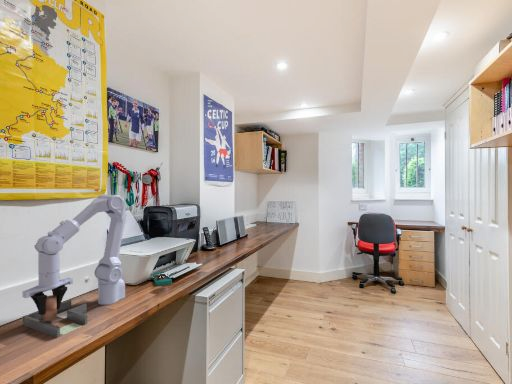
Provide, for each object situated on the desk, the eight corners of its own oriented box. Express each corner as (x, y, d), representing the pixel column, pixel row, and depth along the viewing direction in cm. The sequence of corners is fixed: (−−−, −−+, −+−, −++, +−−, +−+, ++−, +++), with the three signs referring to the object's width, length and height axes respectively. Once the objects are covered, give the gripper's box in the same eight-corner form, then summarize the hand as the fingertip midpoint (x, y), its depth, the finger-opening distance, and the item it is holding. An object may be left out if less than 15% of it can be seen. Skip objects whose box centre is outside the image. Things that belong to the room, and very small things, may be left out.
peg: (52, 314, 96) (52, 294, 96) (59, 316, 94) (59, 296, 94) (39, 319, 92) (39, 298, 92) (46, 321, 91) (46, 300, 91)
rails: (70, 307, 105) (70, 299, 105) (102, 316, 98) (102, 308, 98) (23, 325, 91) (22, 316, 91) (57, 338, 84) (57, 328, 84)
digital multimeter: (156, 287, 130) (156, 281, 130) (151, 278, 144) (151, 272, 143) (172, 285, 134) (172, 278, 134) (166, 276, 147) (166, 270, 147)
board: (71, 309, 106) (71, 306, 106) (110, 320, 97) (110, 317, 97) (22, 328, 91) (22, 325, 91) (62, 343, 83) (62, 340, 83)
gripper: (64, 264, 101) (64, 301, 102) (16, 276, 88) (17, 318, 88) (76, 266, 98) (76, 304, 99) (29, 279, 85) (30, 322, 85)
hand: (49, 311), depth 93 cm, fingers closed on peg, 4 cm apart
